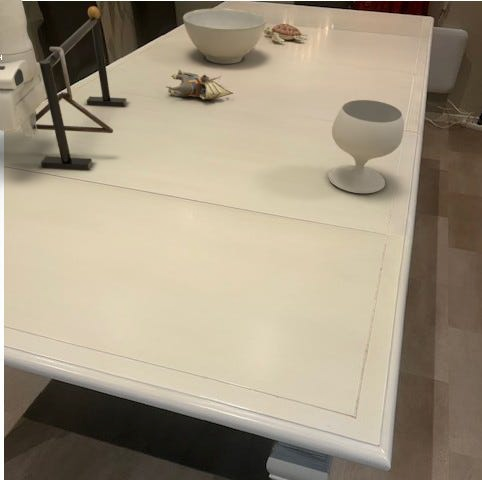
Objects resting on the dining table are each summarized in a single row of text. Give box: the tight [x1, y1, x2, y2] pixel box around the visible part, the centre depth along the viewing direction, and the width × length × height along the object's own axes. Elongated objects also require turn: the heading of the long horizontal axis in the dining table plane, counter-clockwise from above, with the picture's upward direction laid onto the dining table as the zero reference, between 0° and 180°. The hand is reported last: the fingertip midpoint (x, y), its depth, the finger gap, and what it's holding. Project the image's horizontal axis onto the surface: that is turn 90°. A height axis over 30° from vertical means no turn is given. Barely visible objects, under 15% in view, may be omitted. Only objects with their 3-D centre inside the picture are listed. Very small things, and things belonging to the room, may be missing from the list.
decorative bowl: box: [182, 7, 267, 65], centre depth 160 cm, size 27×27×12 cm
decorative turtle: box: [263, 23, 308, 43], centre depth 183 cm, size 18×17×5 cm
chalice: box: [328, 99, 405, 194], centre depth 99 cm, size 14×14×15 cm
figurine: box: [165, 69, 234, 101], centre depth 135 cm, size 20×6×17 cm
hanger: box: [36, 46, 114, 134], centre depth 98 cm, size 1×19×16 cm, turn 88°
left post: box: [86, 5, 128, 108], centre depth 122 cm, size 3×10×23 cm, turn 88°
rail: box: [38, 17, 98, 171], centre depth 109 cm, size 38×10×21 cm, turn 178°
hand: (31, 134), depth 102 cm, fingers closed
